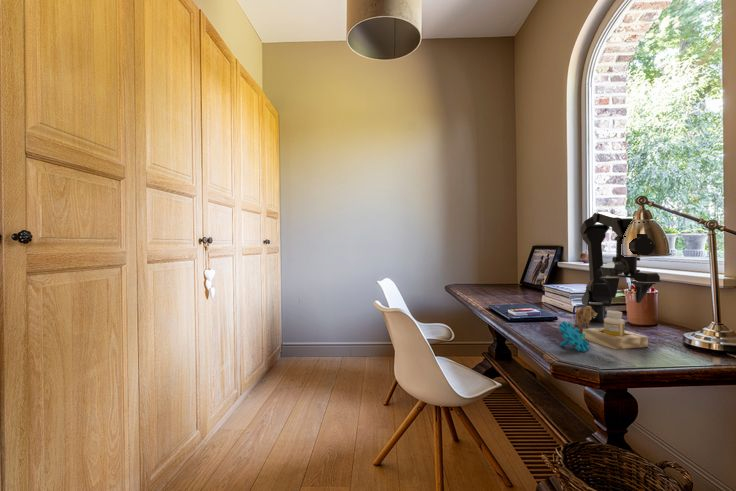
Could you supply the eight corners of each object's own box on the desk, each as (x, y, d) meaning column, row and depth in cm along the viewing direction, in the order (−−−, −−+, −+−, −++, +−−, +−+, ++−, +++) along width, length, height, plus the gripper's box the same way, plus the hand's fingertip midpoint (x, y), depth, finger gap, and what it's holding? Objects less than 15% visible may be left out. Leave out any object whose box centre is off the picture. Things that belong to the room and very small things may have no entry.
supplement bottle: (614, 339, 117) (615, 309, 117) (628, 344, 111) (629, 313, 111) (599, 340, 116) (600, 310, 116) (613, 345, 111) (613, 313, 110)
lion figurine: (598, 333, 125) (599, 307, 125) (581, 332, 126) (582, 306, 126) (582, 323, 139) (582, 300, 139) (567, 322, 140) (567, 299, 140)
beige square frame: (612, 336, 121) (612, 327, 121) (647, 346, 109) (647, 336, 109) (582, 338, 118) (582, 329, 118) (614, 349, 106) (615, 339, 106)
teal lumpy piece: (577, 349, 100) (556, 319, 107) (561, 360, 104) (541, 330, 110) (599, 349, 106) (577, 320, 112) (583, 359, 109) (563, 331, 116)
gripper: (584, 253, 129) (583, 296, 129) (632, 255, 110) (631, 306, 111) (609, 252, 131) (609, 295, 131) (661, 255, 113) (660, 305, 113)
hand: (625, 300), depth 122 cm, fingers open, 9 cm apart
